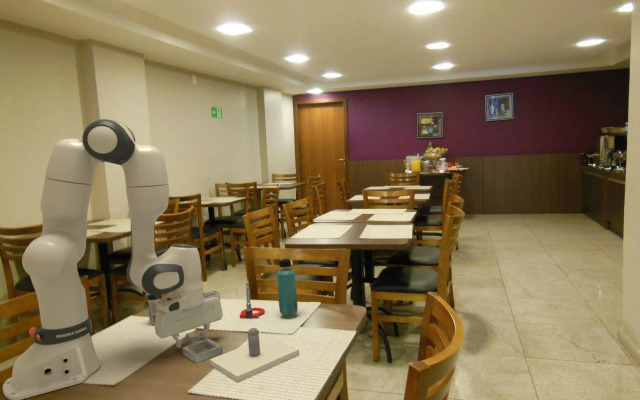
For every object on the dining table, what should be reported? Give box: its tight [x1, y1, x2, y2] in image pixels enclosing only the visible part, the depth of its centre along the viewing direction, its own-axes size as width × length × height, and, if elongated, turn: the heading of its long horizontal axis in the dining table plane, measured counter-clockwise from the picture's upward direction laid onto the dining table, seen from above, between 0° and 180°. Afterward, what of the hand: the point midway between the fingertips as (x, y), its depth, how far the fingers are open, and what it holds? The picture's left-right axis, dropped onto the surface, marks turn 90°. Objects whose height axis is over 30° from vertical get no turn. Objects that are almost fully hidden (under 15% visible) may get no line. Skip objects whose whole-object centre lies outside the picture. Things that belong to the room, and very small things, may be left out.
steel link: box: [181, 331, 224, 364], centre depth 131 cm, size 12×8×4 cm
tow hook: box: [239, 280, 266, 319], centre depth 160 cm, size 8×13×9 cm
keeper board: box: [209, 327, 300, 383], centre depth 123 cm, size 20×14×9 cm
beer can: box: [146, 293, 163, 326], centre depth 155 cm, size 5×5×12 cm
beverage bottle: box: [276, 258, 299, 316], centre depth 155 cm, size 6×7×20 cm
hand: (192, 342), depth 134 cm, fingers open, 6 cm apart
